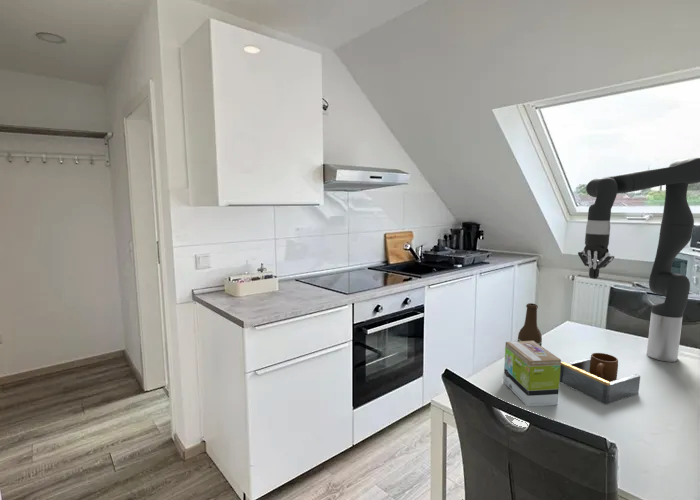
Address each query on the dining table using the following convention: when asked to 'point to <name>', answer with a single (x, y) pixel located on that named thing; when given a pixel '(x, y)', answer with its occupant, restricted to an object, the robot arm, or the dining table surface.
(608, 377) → the mug
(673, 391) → the dining table surface
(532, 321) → the beer bottle
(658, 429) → the dining table surface
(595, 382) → the bracket
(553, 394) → the tea box
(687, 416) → the dining table surface
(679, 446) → the dining table surface
